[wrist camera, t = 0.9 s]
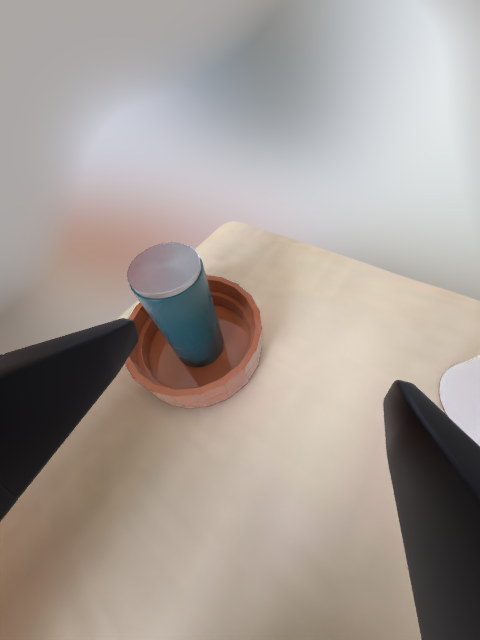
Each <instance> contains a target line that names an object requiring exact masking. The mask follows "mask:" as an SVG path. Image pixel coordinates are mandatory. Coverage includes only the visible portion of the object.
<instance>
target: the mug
mask: <svg viewBox="0 0 480 640" xmlns="http://www.w3.org/2000/svg"><path fill="white" fill-rule="evenodd" d="M439 392H440V399H441V402H442V405H443V408H444V410H445V412H446V414H447V415H448V417H449V418H450V419H451V420H452V421H453V422H454V423H455V424H456V425H458V426H459V427H460V428H461V429H462V430H463V431H464V432H465V433H466V434H467V435H468V436H469V437H470V438H471V439H472V440H474V441H475V442H476V443H477V444H478V445H479V446H480V355H478V356H476V357H474V358H473V359H471V360H469V361H467V362H463V363H459V364H456V365H454V366H452V367H451V368H449V369H448V370H447V371H446V372H445V373H444V375H443V376H442V378H441V381H440V387H439Z"/></svg>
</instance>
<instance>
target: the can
mask: <svg viewBox="0 0 480 640" xmlns="http://www.w3.org/2000/svg"><path fill="white" fill-rule="evenodd" d="M127 278H128V282H129V284H130V287H131V289H132V291H133V292H134V294H135V295H136V297H137V298H138V300H139V301H140V303H141V304H142V305H143V307H144V308H145V310H146V311H147V313H148V314H149V316H150V317H151V318H152V320H153V321H154V323H155V324H156V326H157V327H158V329H159V330H160V331H161V333H162V334H163V336H164V337H165V339H166V340H167V341H168V343H169V344H170V346H171V347H172V349H173V350H174V352H175V353H176V354H177V356H178V357H179V359H180V360H181V361H182V362H183V363H184V364H186V365H188V366H191V367H203V366H206V365H209V364H211V363H212V362H214V361H215V360H216V359H217V358H218V357H219V356H220V354H221V352H222V350H223V346H224V339H223V336H222V332H221V328H220V325H219V321H218V317H217V314H216V310H215V307H214V303H213V299H212V296H211V292H210V288H209V285H208V281H207V278H206V274H205V270H204V267H203V263H202V260H201V258H200V257H199V255H198V253H197V252H196V251H195V250H194V249H193V248H192V247H190V246H188V245H186V244H182V243H172V242H171V243H163V244H159V245H155V246H153V247H150V248H148V249H146V250H145V251H143V252H142V253H140V254H139V255H138V256H137V257H136V258H135V259H134V260H133V261H132V263H131V264H130V266H129V268H128V272H127Z"/></svg>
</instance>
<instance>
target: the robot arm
mask: <svg viewBox="0 0 480 640" xmlns="http://www.w3.org/2000/svg"><path fill="white" fill-rule="evenodd" d="M137 343H138V333H137V329H136V325H135V322H134V321H133V320H129V319H125V318H122V319H118V320H115V321H112V322H108V323H105V324H102V325H98V326H95V327H92V328H89V329H85V330H82V331H79V332H75V333H72V334H68V335H65V336H62V337H59V338H55V339H52V340H49V341H45V342H42V343H39V344H35V345H32V346H28V347H25V348H22V349H18V350H15V351H12V352H8V353H5V354H4V355H0V522H1V520H2V519H3V518H4V517H5V515H6V514H7V513H8V512H9V510H10V509H11V508H12V507H13V505H14V504H15V503H16V501H17V500H18V498H19V497H20V496H21V495H22V494H23V492H24V491H25V490H26V489H27V487H28V486H29V485H30V484H31V482H32V481H33V480H34V479H35V477H36V476H37V475H38V474H39V472H40V471H41V470H42V469H43V467H44V466H45V465H46V464H47V462H48V461H49V460H50V459H51V457H52V456H53V455H54V453H55V452H56V451H57V450H58V448H59V447H60V446H61V445H62V443H63V442H64V441H65V440H66V438H67V437H68V436H69V435H70V433H71V432H72V431H73V430H74V428H75V427H76V426H77V425H78V423H79V422H80V421H81V420H82V418H83V417H84V416H85V415H86V413H87V412H88V411H89V410H90V408H91V407H92V406H93V405H94V403H95V402H96V401H97V400H98V398H99V397H100V396H101V395H102V393H103V392H104V391H105V390H106V388H107V387H108V386H109V384H110V383H111V382H112V381H113V379H114V378H115V377H116V375H117V374H118V372H119V371H120V369H121V368H122V366H123V365H124V363H125V362H126V360H127V359H128V357H129V356H130V354H131V353H132V351H133V349H134V348H135V346H136V345H137ZM383 407H384V421H385V436H386V449H387V457H388V464H389V469H390V474H391V480H392V485H393V490H394V495H395V501H396V506H397V511H398V517H399V522H400V527H401V532H402V538H403V543H404V548H405V554H406V559H407V564H408V569H409V575H410V580H411V585H412V591H413V596H414V601H415V606H416V612H417V617H418V622H419V627H420V633H421V638H422V640H480V446H479V445H478V444H477V443H476V442H475V441H474V440H472V439H471V438H470V437H469V436H468V435H467V434H466V433H465V432H464V431H463V430H462V429H461V428H460V427H459V426H458V425H456V424H455V423H454V422H453V421H452V420H451V419H450V418H449V417H448V416H447V415H446V414H445V413H444V412H443V411H442V410H441V409H439V408H438V407H437V406H436V405H435V404H434V403H433V402H432V401H431V400H430V399H429V398H428V397H427V396H426V395H425V394H423V393H422V392H421V391H420V390H419V389H418V388H417V387H416V386H415V385H414V384H412V383H410V382H405V381H401V380H396V381H395V382H394V383H393V384H392V386H391V388H390V389H389V391H388V393H387V395H386V396H385V398H384V403H383Z"/></svg>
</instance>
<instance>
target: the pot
mask: <svg viewBox="0 0 480 640" xmlns="http://www.w3.org/2000/svg"><path fill="white" fill-rule="evenodd" d="M206 278H207V281H208V285H209V288H210V292H211V296H212V299H213V303H214V307H215V310H216V314H217V317H218V321H219V325H220V328H221V332H222V336H223V339H224V346H223V350H222V352H221V354H220V356H219V357H218V358H217V359H216V360H215V361H214V362H212V363H211V364H209V365H206V366H203V367H191V366H188V365H186V364H184V363H183V362H182V361H181V360H180V359H179V357H178V356H177V354H176V353H175V352H174V350H173V349H172V347H171V346H170V344H169V343H168V341H167V340H166V339H165V337H164V336H163V334H162V333H161V331H160V330H159V329H158V327H157V326H156V324H155V323H154V321H153V320H152V318H151V317H150V316H149V314H148V313H147V311H146V310H145V308H144V307H143V305H142V304H141V303H139V304H138V305H137V306H136V307H135V309H134V310H133V312H132V314H131V315H130V317H129V320H133V321H134V322H135V325H136V329H137V333H138V343H137V345H136V346H135V348H134V349H133V351H132V353H131V354H130V356H129V357H128V359H127V360H126V362H125V365H126V367H127V368H128V370H129V372H130V374H131V375H132V377H133V378H134V379H135V380H136V381H137V382H139V383H140V384H141V385H143V386H144V387H145V388H147V389H148V390H149V391H150V392H152V393H153V394H154V395H156V396H157V397H159V398H160V399H161V400H163V401H164V402H165V403H168V404H171V405H175V406H179V407H183V408H197V407H208V406H211V405H214V404H216V403H218V402H221V401H223V400H225V399H228V398H230V397H231V396H232V395H234V394H235V393H236V392H237V391H238V390H240V389H241V388H242V387H243V386H244V385H245V384H246V383H247V382H248V381H249V379H250V377H251V376H252V374H253V373H254V371H255V369H256V368H257V366H258V362H259V358H260V354H261V349H262V326H261V319H260V311H259V309H258V307H257V305H256V304H255V302H254V300H253V298H252V296H251V295H250V294H249V293H248V292H246V291H245V290H244V289H243V288H242V287H241V286H239V285H238V284H236V283H234V282H232V281H229V280H227V279H225V278H222V277H215V276H208V275H206Z"/></svg>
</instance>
